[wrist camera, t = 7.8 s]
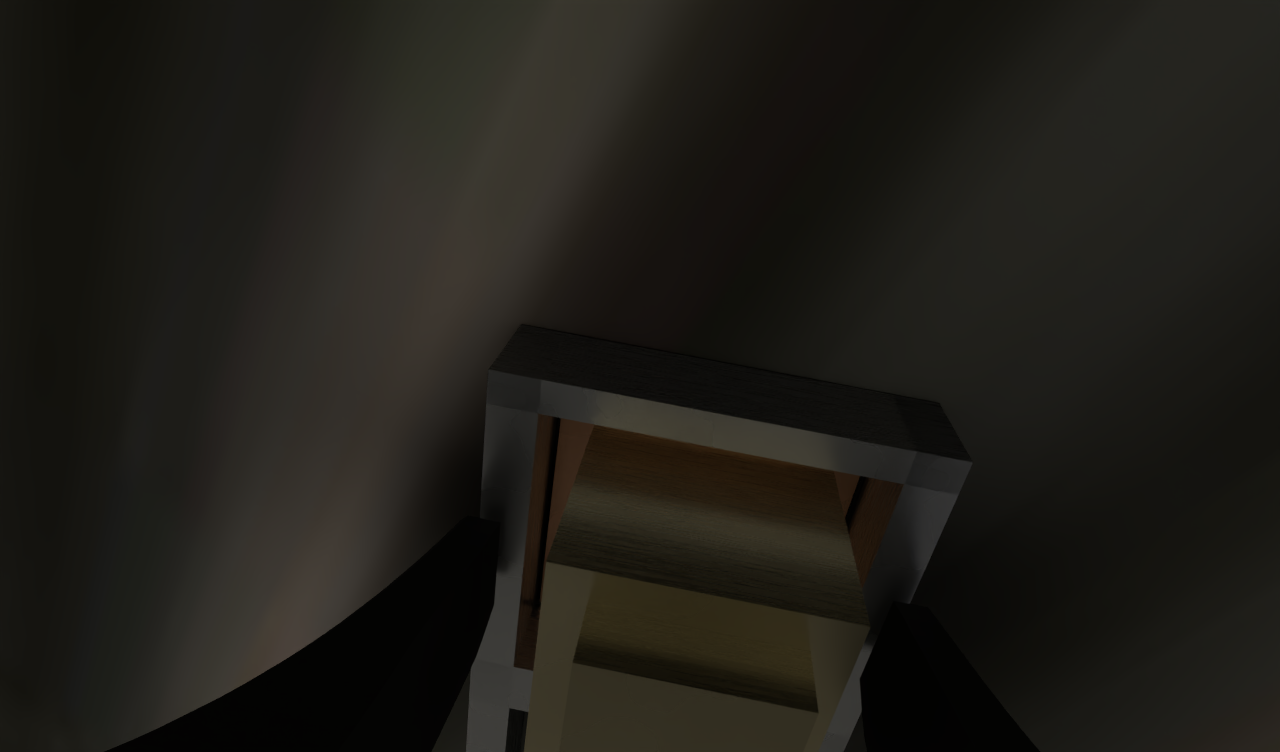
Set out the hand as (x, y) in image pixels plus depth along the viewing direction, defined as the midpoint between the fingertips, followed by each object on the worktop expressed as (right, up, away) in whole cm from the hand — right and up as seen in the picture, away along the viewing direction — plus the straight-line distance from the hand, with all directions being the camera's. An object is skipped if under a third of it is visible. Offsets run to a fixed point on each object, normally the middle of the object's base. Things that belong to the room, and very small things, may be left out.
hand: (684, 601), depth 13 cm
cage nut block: (0, +1, +2) cm, 2 cm away
